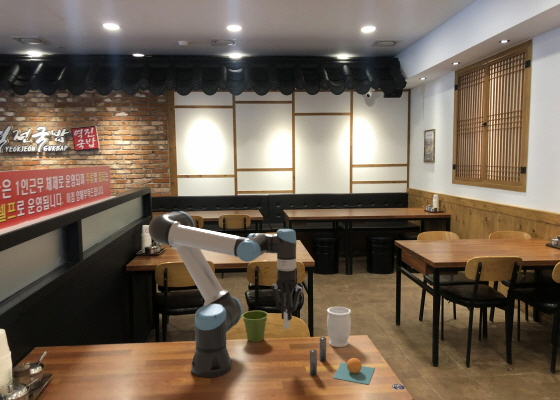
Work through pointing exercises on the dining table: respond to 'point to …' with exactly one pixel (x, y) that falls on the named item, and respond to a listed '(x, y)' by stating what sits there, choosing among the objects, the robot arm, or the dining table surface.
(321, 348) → the post
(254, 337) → the plant pot
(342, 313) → the jar
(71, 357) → the dining table surface
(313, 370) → the post
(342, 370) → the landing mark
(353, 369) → the ball
